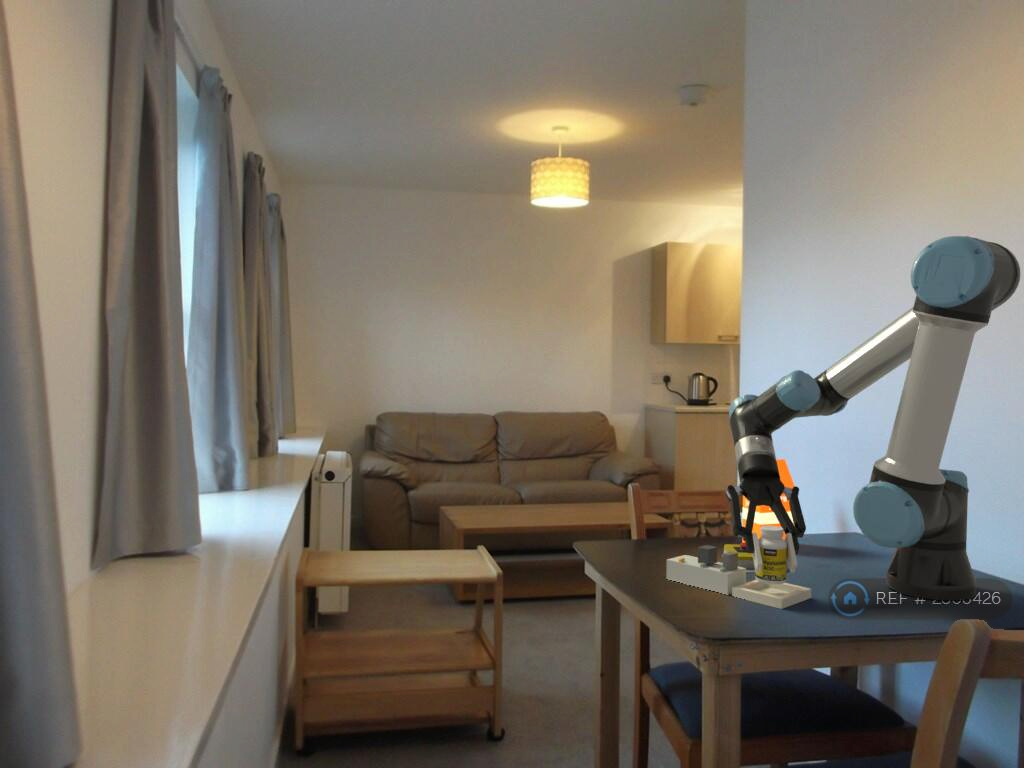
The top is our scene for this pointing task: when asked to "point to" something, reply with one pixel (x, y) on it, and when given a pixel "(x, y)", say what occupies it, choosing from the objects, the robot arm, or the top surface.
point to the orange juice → (764, 513)
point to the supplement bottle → (772, 556)
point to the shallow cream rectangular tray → (772, 593)
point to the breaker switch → (707, 554)
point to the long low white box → (707, 573)
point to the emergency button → (742, 556)
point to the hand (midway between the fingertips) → (776, 568)
